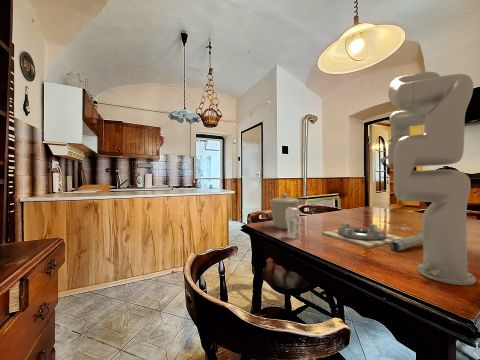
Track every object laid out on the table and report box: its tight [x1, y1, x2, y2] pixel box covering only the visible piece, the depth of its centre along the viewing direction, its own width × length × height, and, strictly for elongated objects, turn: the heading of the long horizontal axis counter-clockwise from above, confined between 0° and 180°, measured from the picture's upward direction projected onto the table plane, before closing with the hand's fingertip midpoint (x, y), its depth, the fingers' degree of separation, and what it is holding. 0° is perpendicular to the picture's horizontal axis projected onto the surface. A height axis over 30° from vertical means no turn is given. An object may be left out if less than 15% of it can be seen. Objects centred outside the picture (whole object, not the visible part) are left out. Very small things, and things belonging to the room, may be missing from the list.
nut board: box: [321, 229, 406, 249], centre depth 107 cm, size 26×26×1 cm
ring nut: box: [337, 222, 387, 240], centre depth 107 cm, size 21×21×4 cm
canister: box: [269, 192, 300, 230], centre depth 131 cm, size 18×18×21 cm
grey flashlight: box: [389, 232, 423, 252], centre depth 90 cm, size 5×7×25 cm
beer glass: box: [285, 207, 300, 240], centre depth 110 cm, size 7×7×15 cm
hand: (401, 175), depth 106 cm, fingers open, 9 cm apart
